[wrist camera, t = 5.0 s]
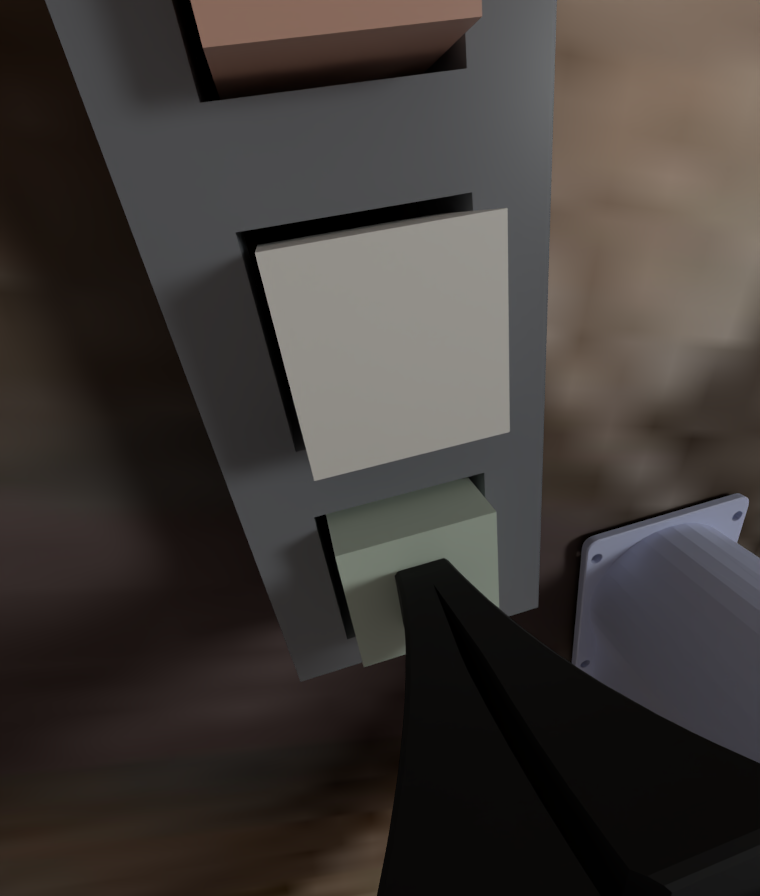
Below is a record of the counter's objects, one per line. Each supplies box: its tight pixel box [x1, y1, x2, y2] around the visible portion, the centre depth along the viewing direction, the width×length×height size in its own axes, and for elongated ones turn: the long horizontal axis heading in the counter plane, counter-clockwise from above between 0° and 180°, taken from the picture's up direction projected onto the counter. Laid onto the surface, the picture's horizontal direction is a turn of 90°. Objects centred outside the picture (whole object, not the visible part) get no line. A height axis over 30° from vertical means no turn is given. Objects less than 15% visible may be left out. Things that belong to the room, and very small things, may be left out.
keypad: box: [45, 0, 557, 681], centre depth 11 cm, size 20×8×4 cm, turn 9°
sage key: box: [326, 477, 499, 667], centre depth 13 cm, size 4×4×4 cm
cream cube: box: [255, 208, 510, 481], centre depth 9 cm, size 4×4×4 cm
